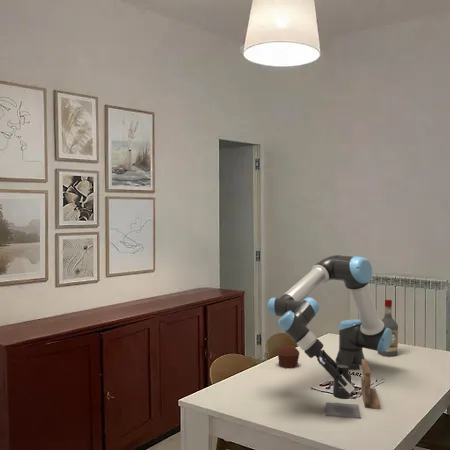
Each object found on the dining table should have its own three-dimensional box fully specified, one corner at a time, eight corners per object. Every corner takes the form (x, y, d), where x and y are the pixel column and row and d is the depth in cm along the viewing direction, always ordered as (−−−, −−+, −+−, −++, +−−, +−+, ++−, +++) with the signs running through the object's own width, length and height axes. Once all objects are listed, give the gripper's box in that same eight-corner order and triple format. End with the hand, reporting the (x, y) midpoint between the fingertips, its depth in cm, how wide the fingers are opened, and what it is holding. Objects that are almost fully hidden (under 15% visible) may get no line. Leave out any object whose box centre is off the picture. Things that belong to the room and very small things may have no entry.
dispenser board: (362, 407, 215) (362, 372, 214) (358, 390, 235) (359, 359, 234) (380, 408, 214) (380, 374, 213) (375, 391, 233) (375, 360, 233)
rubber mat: (326, 415, 206) (326, 414, 206) (325, 403, 219) (325, 402, 219) (360, 418, 204) (360, 416, 204) (358, 405, 216) (358, 404, 216)
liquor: (375, 352, 297) (376, 299, 296) (389, 351, 299) (390, 298, 298) (385, 357, 288) (386, 302, 287) (399, 356, 291) (400, 301, 290)
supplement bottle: (340, 400, 206) (341, 369, 206) (329, 395, 212) (330, 365, 212) (354, 397, 209) (355, 367, 209) (343, 392, 215) (343, 362, 215)
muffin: (285, 361, 279) (285, 342, 279) (303, 365, 272) (304, 345, 272) (272, 366, 270) (272, 346, 270) (291, 370, 263) (291, 350, 263)
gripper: (304, 344, 222) (343, 386, 220) (302, 357, 203) (345, 402, 201) (317, 332, 221) (356, 374, 219) (317, 344, 202) (360, 389, 200)
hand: (351, 387), depth 210 cm, fingers closed on supplement bottle, 7 cm apart
